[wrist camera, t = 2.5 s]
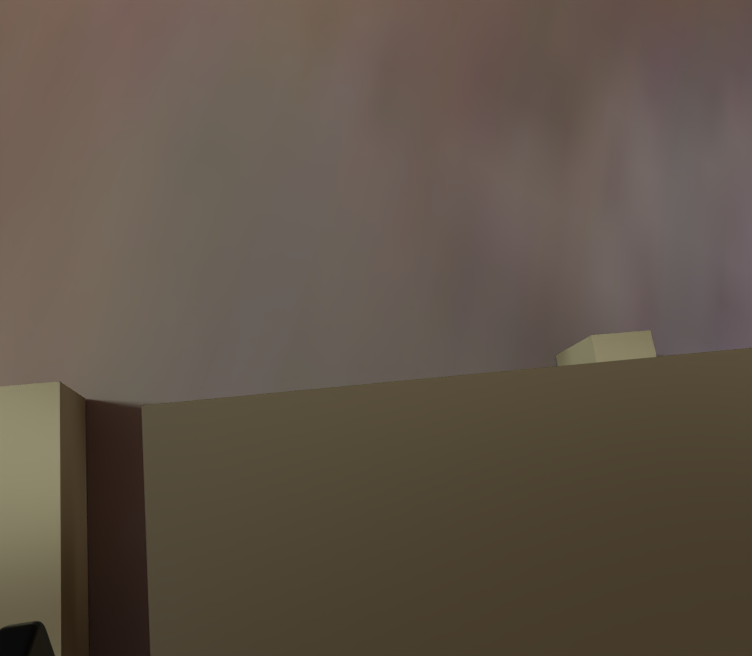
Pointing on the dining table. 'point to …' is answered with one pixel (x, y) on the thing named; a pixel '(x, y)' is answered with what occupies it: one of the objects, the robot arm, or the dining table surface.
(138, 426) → the dining table surface
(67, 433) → the brown lane walls
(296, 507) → the walnut block
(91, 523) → the dining table surface
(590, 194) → the dining table surface
